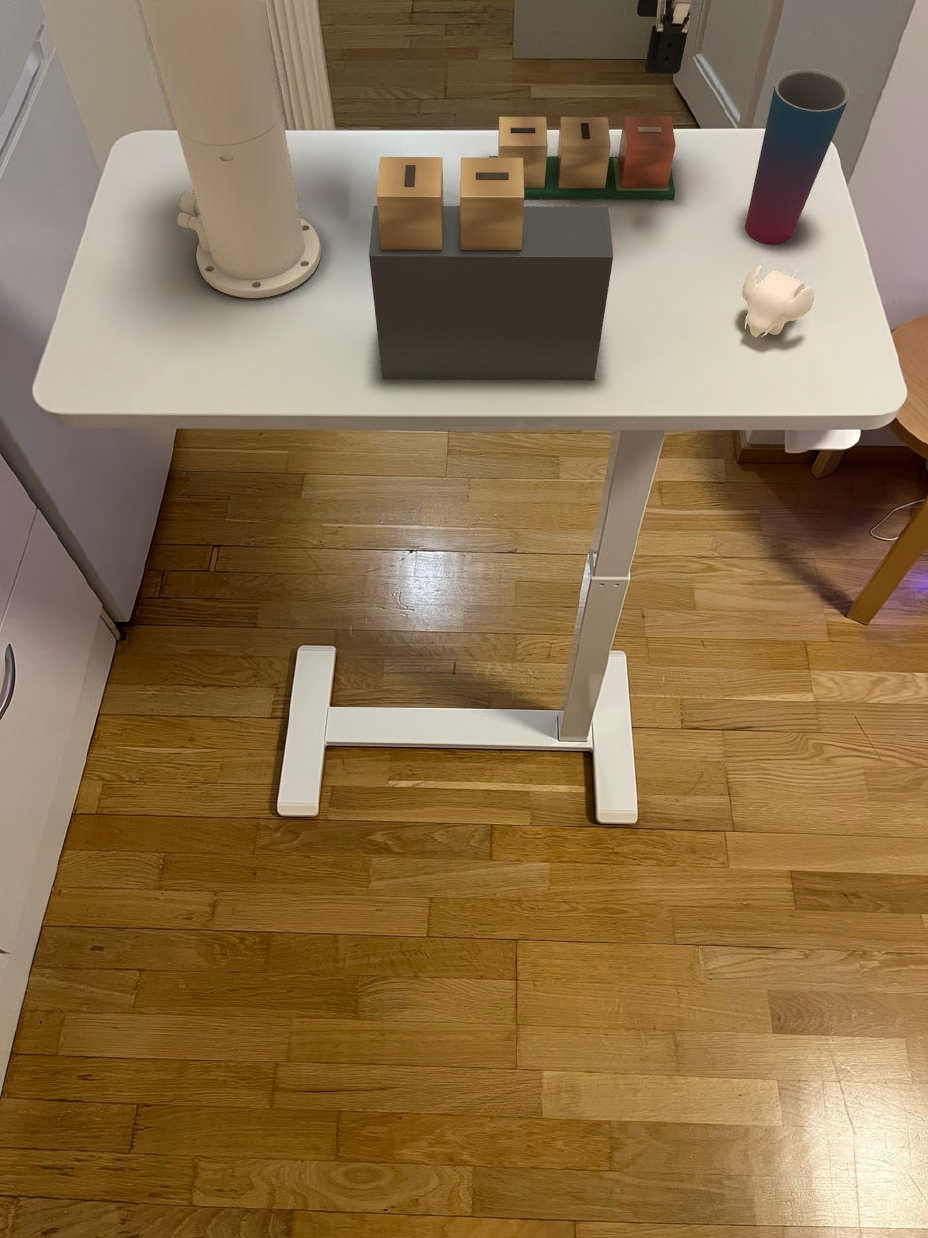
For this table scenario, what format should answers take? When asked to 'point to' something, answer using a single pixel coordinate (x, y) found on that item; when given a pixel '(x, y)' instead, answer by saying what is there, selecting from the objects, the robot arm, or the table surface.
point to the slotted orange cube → (646, 151)
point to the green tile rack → (569, 160)
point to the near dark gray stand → (484, 276)
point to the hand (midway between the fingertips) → (657, 42)
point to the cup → (793, 150)
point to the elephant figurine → (774, 301)
